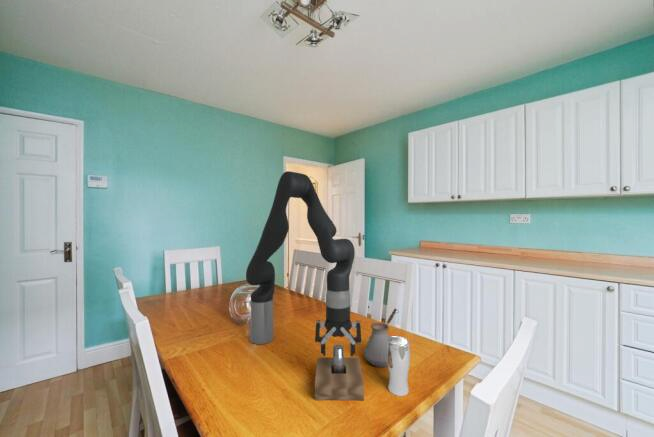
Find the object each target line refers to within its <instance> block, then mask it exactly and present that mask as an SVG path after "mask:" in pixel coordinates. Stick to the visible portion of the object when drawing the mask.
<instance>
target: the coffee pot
mask: <svg viewBox="0 0 654 437" xmlns="http://www.w3.org/2000/svg"><path fill="white" fill-rule="evenodd" d="M397 311H398V312H397ZM398 313H400V312H399V310H398V309H397V308H394V309H393V311H392V312H391V314H390V316H389V317H388V320H387V322H386V323H384V322H374V323H372V324H371V325H370V328H371V330H372V332H371V334H370V336H369V338H368V341H367V343H366V346H365V348H364V350H363V355H364V357H365V359H366V360H367V361H368V362H369V363H370V364H371V365H372V366H375V367H378V368H385V367H386V368H387V367H388V364H387V356H386V349H387V339H388V338H389V337H390V336H389V334H388V331H389V329H390V326H389V325H390V323H391V321H392V320H393V318H394V316H395V315H396V314H398Z"/></svg>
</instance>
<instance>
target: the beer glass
mask: <svg viewBox="0 0 654 437" xmlns="http://www.w3.org/2000/svg"><path fill="white" fill-rule="evenodd" d="M386 356H387V364H388V366H387V368H388V375H389V378H388V385H387V389H388V391H389V392H390V393H391V394H392V395H394V396H398V397H403V396H407V395H408V393H410V391H409V390H410V388H409V383H408V375H409V369H410V364H411V349H410V340H409V339H408V338H406V337H404V336H399V335H392V336H391V335H390V336H389V338H388V339H387V349H386Z"/></svg>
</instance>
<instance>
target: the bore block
mask: <svg viewBox="0 0 654 437" xmlns="http://www.w3.org/2000/svg"><path fill="white" fill-rule="evenodd" d="M316 359H317V360H316V362H317V363H316V368H315V369H316V370H315V378H314V379H315V380H314V401H365V388H364V387H365V386H364V384H365V382H364V378H363V377H364V376H363V372H362V365H361V361H360V357H344V374H333V357H317V358H316Z"/></svg>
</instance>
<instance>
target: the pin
mask: <svg viewBox="0 0 654 437" xmlns="http://www.w3.org/2000/svg"><path fill="white" fill-rule="evenodd" d="M332 352H333V354H332V356H333V357H332V358H333V374H344V358H345V356H344V345H342V344H334V345H333V348H332Z"/></svg>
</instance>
